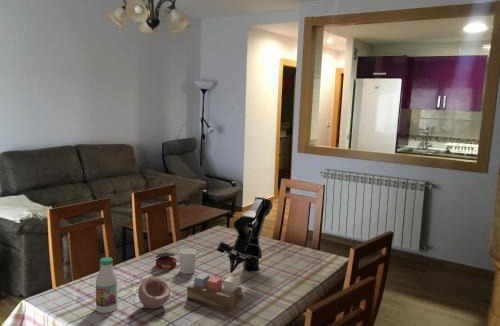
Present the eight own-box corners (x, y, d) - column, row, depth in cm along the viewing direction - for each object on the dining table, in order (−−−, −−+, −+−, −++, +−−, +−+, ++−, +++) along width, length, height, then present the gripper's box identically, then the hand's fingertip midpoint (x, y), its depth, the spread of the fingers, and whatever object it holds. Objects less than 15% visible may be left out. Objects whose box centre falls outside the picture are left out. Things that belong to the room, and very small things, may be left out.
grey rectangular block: (200, 289, 169) (200, 272, 168) (208, 292, 167) (209, 274, 166) (194, 294, 165) (194, 277, 163) (202, 296, 163) (203, 279, 162)
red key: (213, 293, 167) (213, 275, 166) (221, 295, 165) (222, 277, 164) (206, 298, 162) (207, 280, 161) (215, 300, 160) (216, 282, 159)
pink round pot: (154, 317, 149) (154, 288, 147) (131, 308, 155) (131, 280, 154) (176, 305, 159) (176, 277, 157) (154, 296, 165) (154, 270, 164)
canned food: (155, 277, 195) (146, 258, 194) (167, 267, 204) (158, 250, 203) (173, 271, 190) (163, 252, 189) (184, 261, 199) (175, 243, 198)
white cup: (192, 275, 187) (193, 254, 186) (176, 273, 188) (177, 253, 187) (198, 268, 195) (198, 249, 193) (182, 267, 196) (183, 247, 195)
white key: (229, 293, 167) (229, 276, 166) (238, 295, 165) (238, 278, 164) (223, 298, 163) (224, 280, 161) (232, 300, 161) (233, 282, 160)
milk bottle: (99, 303, 158) (98, 255, 155) (119, 303, 158) (119, 255, 156) (93, 314, 150) (92, 263, 147) (114, 313, 151) (114, 263, 148)
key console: (203, 288, 174) (203, 275, 173) (242, 298, 166) (243, 284, 166) (187, 300, 163) (187, 286, 162) (229, 312, 155) (229, 297, 154)
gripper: (255, 253, 189) (244, 284, 181) (219, 236, 187) (207, 267, 179) (263, 246, 180) (252, 279, 172) (226, 229, 178) (213, 262, 170)
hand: (231, 272), depth 173 cm, fingers closed
